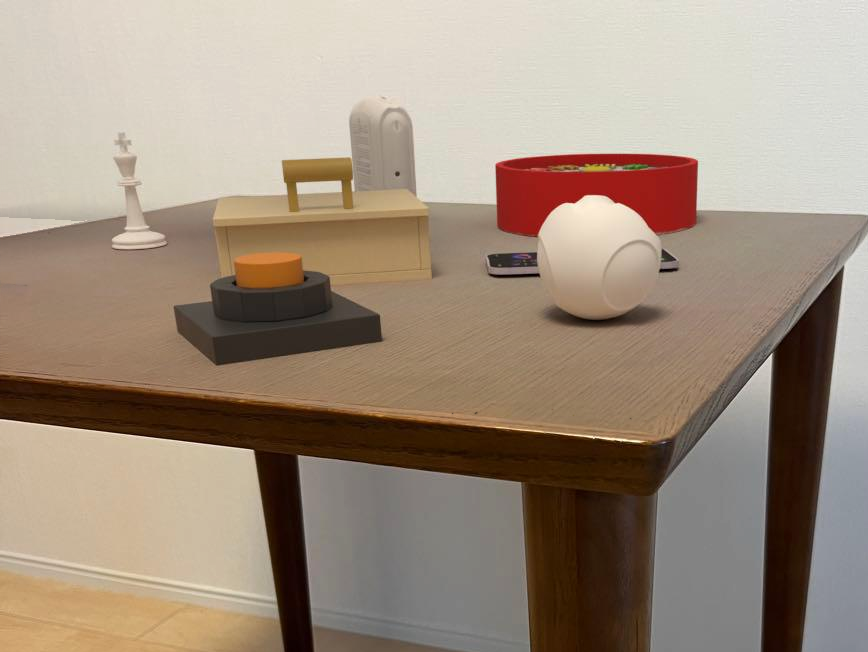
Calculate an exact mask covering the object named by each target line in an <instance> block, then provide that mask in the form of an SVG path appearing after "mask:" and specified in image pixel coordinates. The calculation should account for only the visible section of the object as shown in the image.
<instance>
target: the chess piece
mask: <svg viewBox="0 0 868 652" xmlns="http://www.w3.org/2000/svg"><path fill="white" fill-rule="evenodd" d="M117 138H118V139H114V140H113V142H114V146H119V151H120V152H118V153H116V154H114V155H113V158H112V159H113V160H114V163H115V164H116V166H117V168H118V170H119V173H120V175H121V176H122V177H121V180H119V181H117V186H119V187H124V194H125V207H126V208H125V211H126V226H125V227H124V228H123V230H125V232H123V233H120V234H118V235H115V236H114V237H113V238H112V239H111V242H112V244H111V248H113V249H115V250H124V251H125V250H126V251H127V250H131V251H132V250H133V251H134V250H146V249H154V248H155V249H156V248H160V247H164V246H166V245H167V244H168V242H167V241H166V236H165V234H163V233H160V232H156V231H153V230H150V228H151V227H150V225H148V224H147V223H146V220H145V216H144V214H143V210H142V207H141V203H140V199H139V196H138V192H137V188H136V186H140V185H142V182H141V179H136V177H135V173H136V163H137V159H138V157H137V154H136V153H132V152H129V151H128V146H132V140H131V139H127V137H126V132H117Z"/></svg>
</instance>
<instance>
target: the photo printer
mask: <svg viewBox="0 0 868 652" xmlns="http://www.w3.org/2000/svg"><path fill="white" fill-rule="evenodd" d="M348 120H349V121H348V124H349V126H348V127H349V135H350V137H349V138H350V149H351V160H352V168H353V186H354V187H353V188H354V191H375V190H396V189H408V190H409V191H410V192H411V193H412V194H413V195H415V196H416V197H417V196H418V195H417V179H416V178H417V176H416V162H415V161H416V160H415V144H414V128H413V122H412V118H411V115H410V114H409V112H408V111H407V109H406V108H405V107H404V106H403V105H402V104H401V103H400V102H399V101H397V100H396V99H394V98H393V97H391V96H389V95H386V94H378V95H376V94H369V95H366V96H363V97H362V98H360V99H359V100H358V101H357V102H356V103H355V104H354V105H353V107H352V109H351V110H350V114H349V118H348ZM417 198H418V197H417Z"/></svg>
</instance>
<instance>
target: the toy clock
mask: <svg viewBox="0 0 868 652" xmlns="http://www.w3.org/2000/svg"><path fill="white" fill-rule="evenodd" d="M494 166H495V167H494V169H495V198H496V223H497V224H496V226H497V228H498V229H500V230H501V231H504V232H508V233H511V234H516V235H521V236H529V237H537V238H538V234H539V231H540V229H541V227H542V225H543V223H544V222H545V220H546V219H547V217H548V216H549V214H550V213H551V212H552V211H553V210H554V209H556V208H557V207H558V206H560V205H562V204H564V203H573V204H575V203H576V202H578V201H579V200H581V199H582V198H583V197H584V196H587V195H600V196H606V197H608V198H609V199H611V200H612V201H613V202H614V203H615V204H616V203H620V204H623V205H625V206H627V207H629V208H630V209H632V210H633V211H635V212H636V213H637V214H638V215H639V216H641V218H642V219H643V220H644V221H645V222H646V224H647V226H648V227H649V228H650V229H651V230H652V231H653V232H654V233H655V234H656V235H657V236H658V235H664V234H670V233H676V232H680V231H685V230H688V229H690V228H692V227H694V226H695V225H696V224H697V209H698V207H697V206H698V178H699V177H698V175H699V174H698V173H699V160H698V159H696V158H693V157H690V156H689V157H688V156H680V155H672V154H671V155H670V154H654V153H570V154H554V155H553V154H552V155H551V154H550V155H539V156H538V155H537V156H527V157H518V158H512V159H505V160H502V161H499V162H496V163H495V165H494Z"/></svg>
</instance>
